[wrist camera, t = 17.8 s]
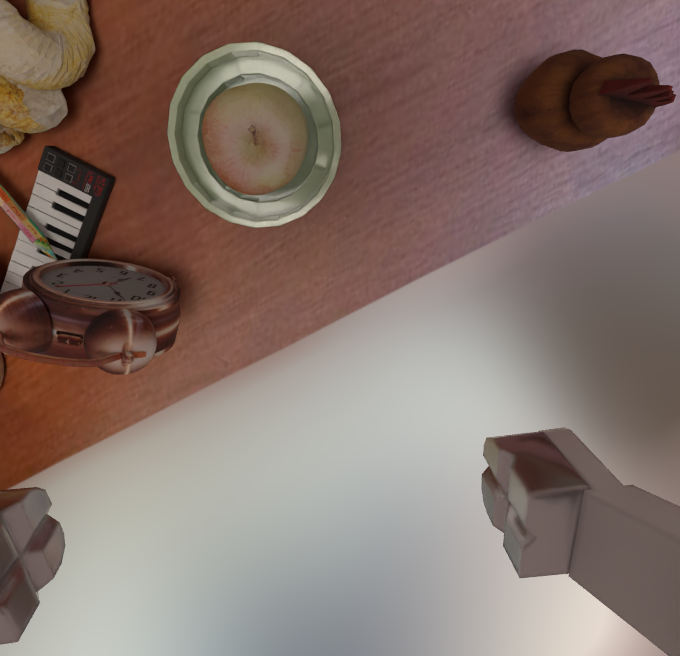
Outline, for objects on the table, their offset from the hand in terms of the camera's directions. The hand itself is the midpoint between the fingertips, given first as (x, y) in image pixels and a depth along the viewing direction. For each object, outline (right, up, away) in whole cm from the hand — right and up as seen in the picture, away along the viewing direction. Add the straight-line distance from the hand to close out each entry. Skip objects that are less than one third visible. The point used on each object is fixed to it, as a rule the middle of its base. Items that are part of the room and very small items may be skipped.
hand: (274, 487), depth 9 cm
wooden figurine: (+18, +21, +29) cm, 40 cm away
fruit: (-5, +18, +28) cm, 33 cm away
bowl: (-5, +18, +28) cm, 34 cm away
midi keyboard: (-26, +10, +29) cm, 40 cm away
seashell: (-22, +23, +25) cm, 40 cm away
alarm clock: (-17, +7, +32) cm, 37 cm away
